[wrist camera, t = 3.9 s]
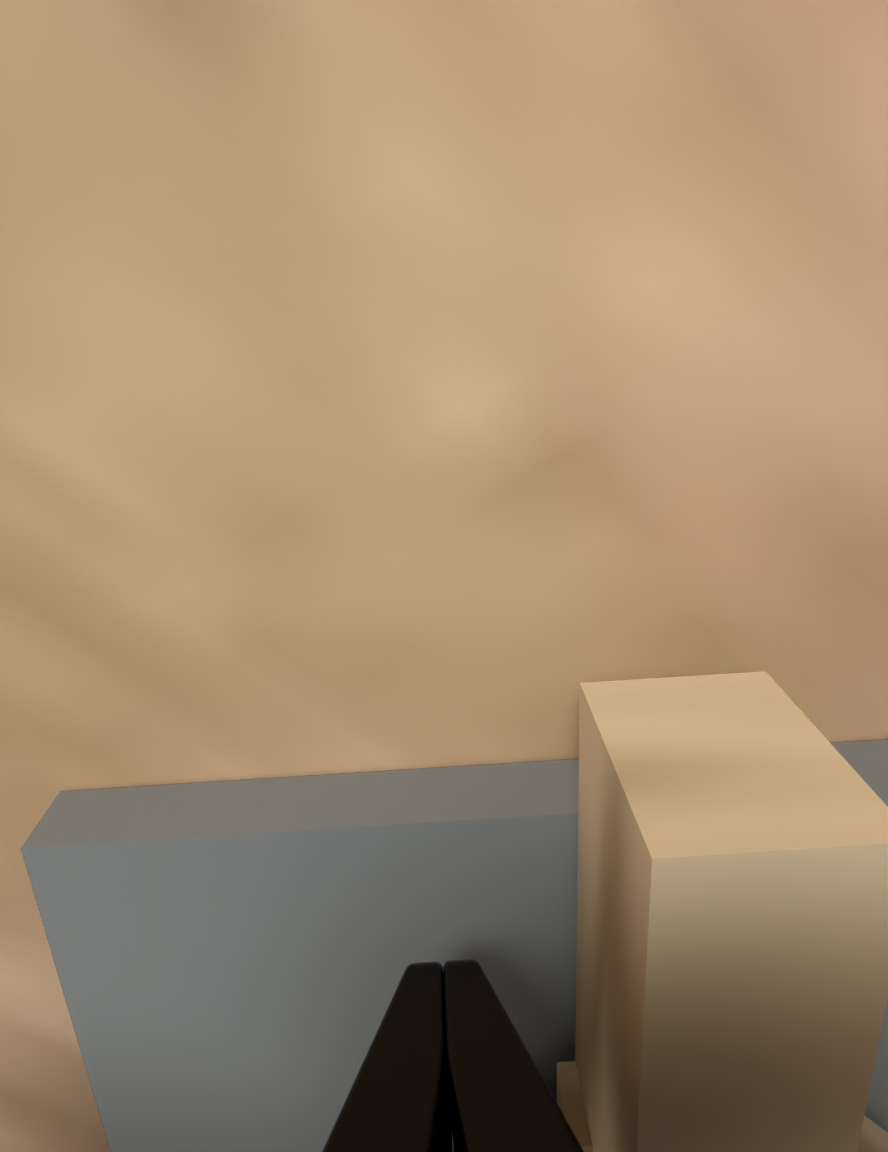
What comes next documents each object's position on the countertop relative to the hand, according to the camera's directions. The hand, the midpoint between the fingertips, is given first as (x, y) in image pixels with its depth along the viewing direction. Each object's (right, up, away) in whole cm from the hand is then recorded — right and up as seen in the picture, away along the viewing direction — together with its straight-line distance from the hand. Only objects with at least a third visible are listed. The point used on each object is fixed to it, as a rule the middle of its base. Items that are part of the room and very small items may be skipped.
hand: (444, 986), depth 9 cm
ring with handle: (+3, -3, +2) cm, 5 cm away
